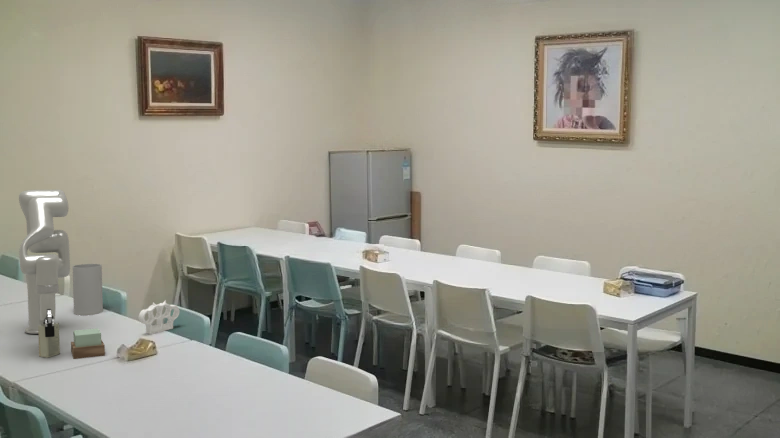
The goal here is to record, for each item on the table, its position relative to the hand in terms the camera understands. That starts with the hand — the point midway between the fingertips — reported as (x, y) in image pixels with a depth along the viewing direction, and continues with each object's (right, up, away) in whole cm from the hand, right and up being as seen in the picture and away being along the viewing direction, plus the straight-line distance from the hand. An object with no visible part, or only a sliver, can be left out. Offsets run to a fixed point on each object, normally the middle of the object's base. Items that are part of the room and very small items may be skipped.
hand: (49, 334), depth 286 cm
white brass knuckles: (+31, -6, +35) cm, 47 cm away
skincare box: (0, -8, +1) cm, 9 cm away
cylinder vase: (-11, -3, +65) cm, 66 cm away
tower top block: (+13, -4, +3) cm, 14 cm away
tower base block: (+13, -9, +4) cm, 16 cm away
